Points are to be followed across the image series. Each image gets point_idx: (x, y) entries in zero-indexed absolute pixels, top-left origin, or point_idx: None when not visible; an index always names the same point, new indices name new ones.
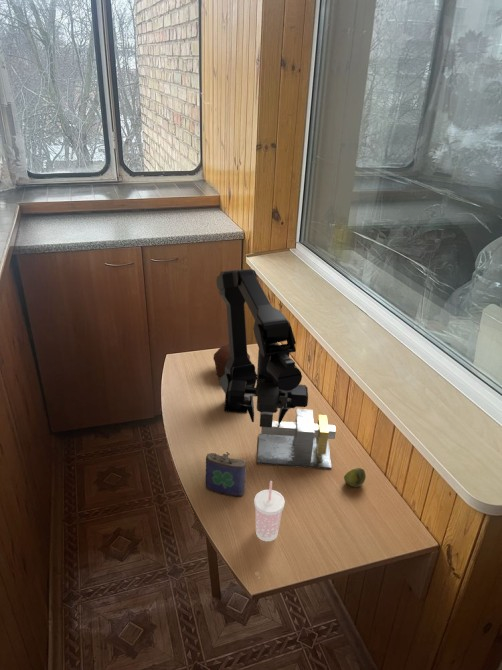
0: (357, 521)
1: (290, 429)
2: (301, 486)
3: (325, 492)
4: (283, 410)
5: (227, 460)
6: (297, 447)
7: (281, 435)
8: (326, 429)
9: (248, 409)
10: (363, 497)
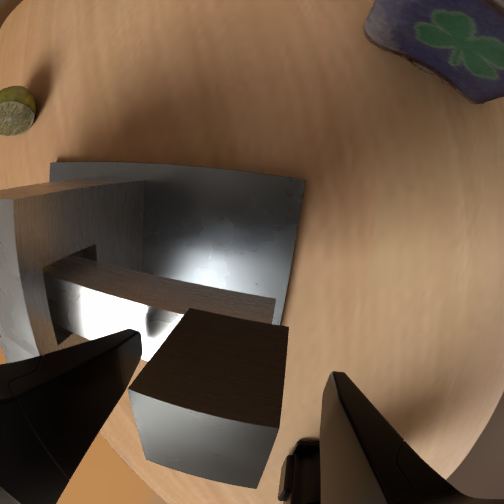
0: (63, 5)
1: (84, 280)
2: (145, 66)
3: (88, 61)
4: (9, 383)
5: None
6: (91, 185)
7: None
8: None
9: (422, 471)
10: (28, 76)
